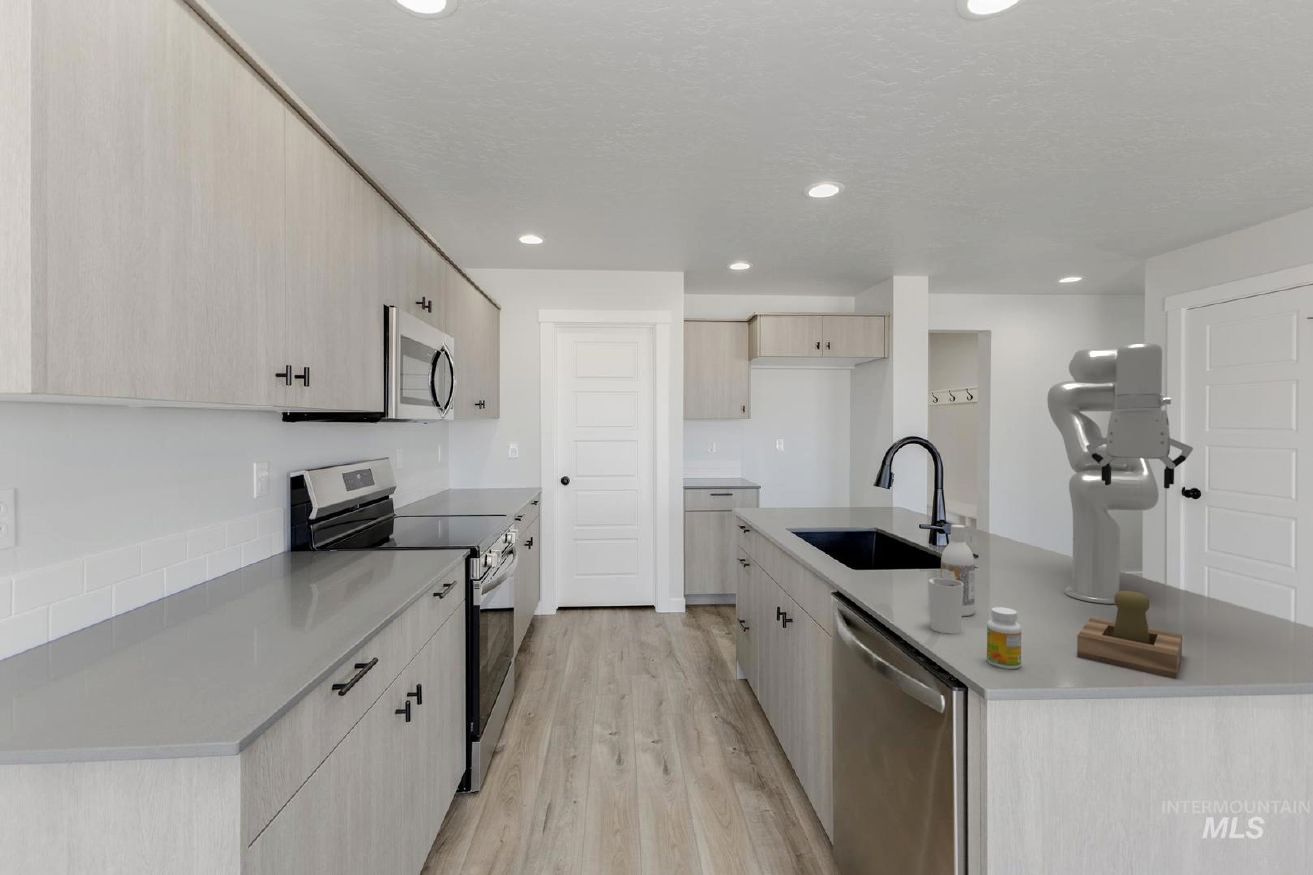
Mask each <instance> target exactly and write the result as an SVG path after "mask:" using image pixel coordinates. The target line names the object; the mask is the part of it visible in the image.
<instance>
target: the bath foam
mask: <svg viewBox="0 0 1313 875" xmlns="http://www.w3.org/2000/svg"><path fill="white" fill-rule="evenodd" d="M974 557H975V556H974V554H973V551H972V550H971V548H970V547H969V545H968V543H966V526H965V525H962V524H951V526H950V541H949V543H948V544H947V545H946V546H945V548H944V549H943V551H942V554H941V559H940V560H941V561H940V578H946V579H953V580H957V581H960V582H962V583H963V584H964V586H963V603H962V617H968V616H972V615H974V613H975V595H976V594H975V588H976V587H975V585H976V583H975V580H976V578H975V577H976V576H975V574H976V572H975V571H976V566H975V565H976V563H975V562H976V561H975V558H974Z"/></svg>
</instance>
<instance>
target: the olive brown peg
mask: <svg viewBox="0 0 1313 875" xmlns="http://www.w3.org/2000/svg"><path fill="white" fill-rule="evenodd" d="M1114 602H1115V604H1114V605H1115V606H1116V607H1117V611H1116V617H1115V620H1114V622H1115V627H1114V632H1113V637H1114V638H1119V639H1124V640H1129V641H1134V642H1140V643H1145V644H1150V639H1149V633H1148V628H1149V626H1148V620H1147V614H1146V612H1147V611H1149V609H1150V606H1151V605H1150V604H1151V603H1150V599H1149V598H1148V596H1147V595H1146V594H1143V593H1142V592H1137V591H1133V590H1119V592H1117V593H1116V594H1115V597H1114Z"/></svg>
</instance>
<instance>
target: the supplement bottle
mask: <svg viewBox="0 0 1313 875" xmlns="http://www.w3.org/2000/svg"><path fill="white" fill-rule="evenodd" d="M991 618H992V619H989V620H988V621H987V624H986V661H987V662H988V664H990V665H992V666H994V667H998V668H1001V669H1006V670H1015V669H1019V668H1020V667H1021V665H1022V627H1021V624H1019V623H1017V622H1016V621H1017V620H1018V612H1017V610H1014V609H1012V608H1008V607H1001V606H999V607H998V606H997V607H992V608H991Z"/></svg>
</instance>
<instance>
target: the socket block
mask: <svg viewBox="0 0 1313 875" xmlns="http://www.w3.org/2000/svg"><path fill="white" fill-rule="evenodd" d="M1114 627H1115V621H1110V620H1105V619H1101V618H1095V617H1090V618H1089V619H1088V620H1087V622H1086V623H1085V625H1084V626H1083V627H1082V628H1081V630H1080V631H1079V632H1078V634H1077V636H1076V638H1077V641H1076V642H1077V643H1076V645H1077V646H1076V647H1077V649H1076V652H1077V653H1076V654H1077V656H1076V657H1077V658H1082V659H1087V660H1091V661H1095V662H1100V663H1105V664H1108V665H1109V664H1110V665H1113V666H1117V667H1122V668H1123V667H1124V668H1127V669H1132V670H1136V671H1140V672H1145V673H1150V674H1154V675H1158V676H1164V677H1168V678H1172V679H1177V677H1178V673H1179V668H1180V664H1181V660H1182V656H1183V655H1182V654H1183V652H1182V651H1183V633H1177V632H1171V631H1167V630H1166V631H1165V630H1160V629H1156V628H1155V629H1154V628H1149V627H1148V633H1149V639H1150V644H1145V643H1140V642H1134V641H1129V640H1124V639H1119V638H1114V637H1113V632H1114Z"/></svg>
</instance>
